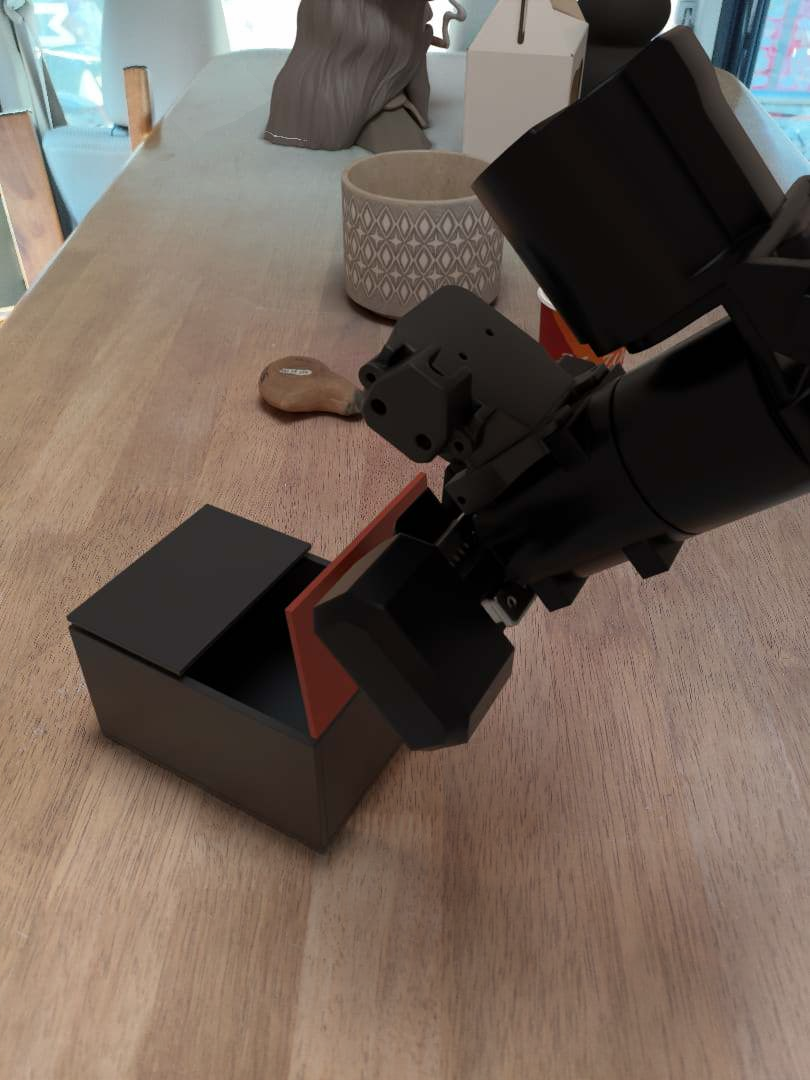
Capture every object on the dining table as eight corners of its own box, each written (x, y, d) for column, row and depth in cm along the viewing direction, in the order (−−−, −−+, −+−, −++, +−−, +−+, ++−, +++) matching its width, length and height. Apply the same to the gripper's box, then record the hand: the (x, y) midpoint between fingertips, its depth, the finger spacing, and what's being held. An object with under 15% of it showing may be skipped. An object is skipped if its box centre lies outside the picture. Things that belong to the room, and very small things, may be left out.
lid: (429, 591, 47) (435, 593, 47) (310, 736, 39) (317, 739, 39) (420, 471, 42) (426, 472, 42) (284, 609, 35) (291, 612, 35)
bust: (507, 136, 143) (529, -138, 121) (318, 170, 129) (303, -134, 107) (396, 91, 166) (397, -148, 143) (224, 115, 151) (196, -146, 129)
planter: (382, 257, 105) (381, 141, 97) (518, 280, 100) (529, 161, 92) (318, 313, 93) (311, 187, 85) (468, 343, 88) (476, 212, 80)
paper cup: (558, 476, 71) (582, 309, 62) (503, 429, 76) (518, 269, 67) (635, 450, 74) (669, 287, 65) (578, 407, 79) (602, 251, 70)
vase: (682, 138, 143) (735, -136, 121) (573, 144, 140) (607, -137, 118) (635, 108, 157) (675, -142, 135) (535, 113, 154) (559, -143, 132)
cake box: (487, 146, 139) (501, -72, 121) (573, 153, 137) (600, -68, 119) (459, 193, 122) (470, -53, 105) (556, 201, 120) (585, -48, 102)
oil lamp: (291, 449, 75) (375, 424, 78) (291, 411, 72) (378, 386, 75) (247, 390, 80) (327, 369, 83) (245, 352, 77) (328, 332, 80)
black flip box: (428, 707, 52) (433, 590, 47) (323, 855, 45) (313, 737, 39) (225, 616, 58) (206, 502, 52) (101, 734, 51) (63, 616, 45)
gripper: (624, 160, 34) (375, 354, 45) (359, 368, 21) (104, 565, 32) (781, 400, 36) (505, 528, 47) (625, 719, 23) (298, 790, 34)
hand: (376, 586), depth 40 cm, fingers closed, pressing on lid
